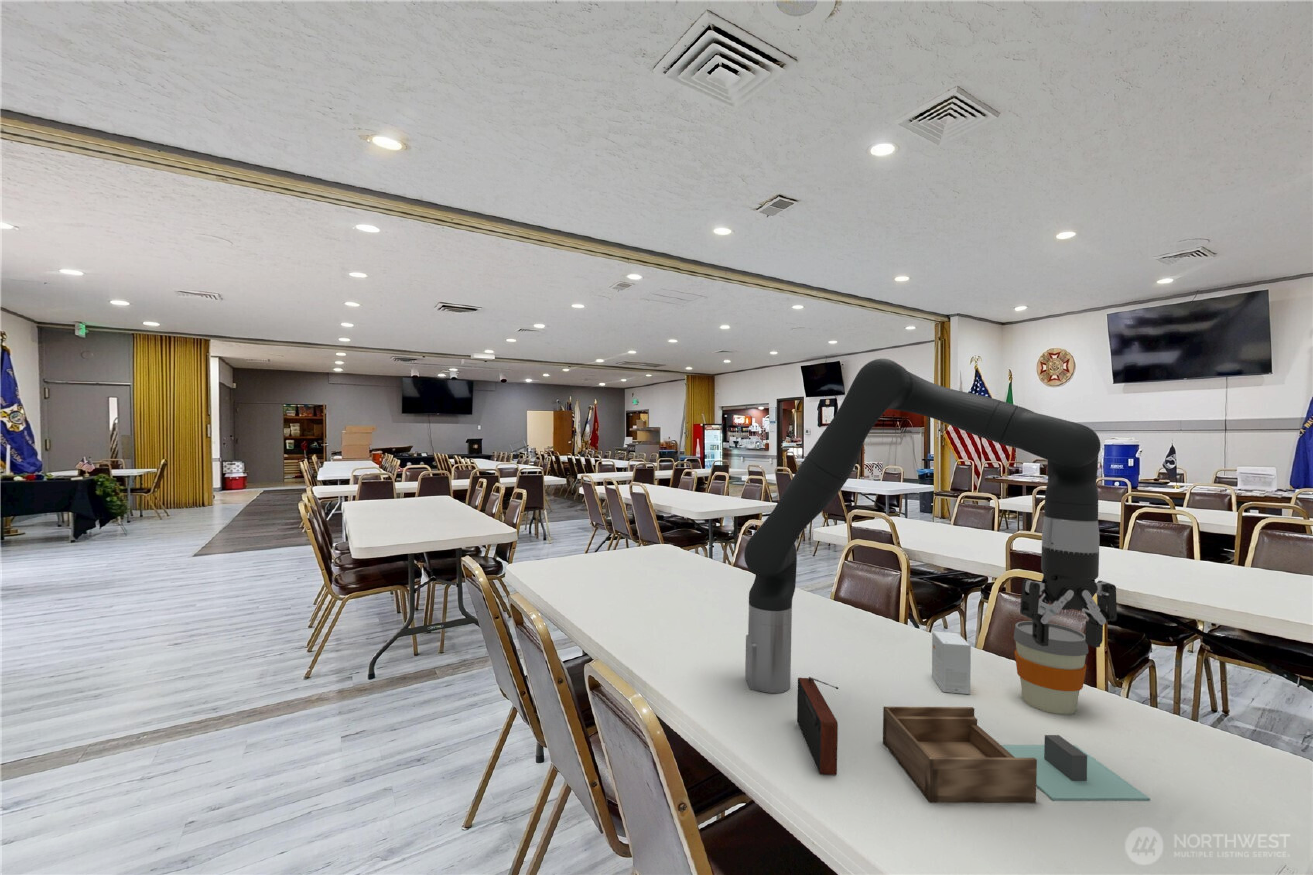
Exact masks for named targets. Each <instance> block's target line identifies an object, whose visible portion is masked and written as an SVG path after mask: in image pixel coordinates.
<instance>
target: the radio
mask: <svg viewBox="0 0 1313 875" xmlns="http://www.w3.org/2000/svg"><path fill="white" fill-rule="evenodd" d="M816 682H818V683H821V684H824V685H827V686H829V687H832V688H834V689H836V690H839V687H838V686H834V685H831V684H829V683H827V682H825V681H821V680H819V679H817V678H814V677H811V676H808V677H797V699H796V700H797V705H796V706H797V707H796V708H797V709H796V722H797V725H798V728H799V730H800V732H801V734H802V736H803V738H804V741H805V744H806V746H807V748H808V751H809V753H810V756H811V757H812V759H813V762H814V764H815V767H816V770H817V771H818V774H819V775H829V776H830V775H831V776H836V775H838V735H839V732H838V730H839V729H838V727H839V726H838V723H839V722H838V720H837V719H836V717H835V715H834V712H832V710H831V707H830V706H829V705H828V703H827V700H826V699H825V697H824V696H823V694H822V692H821V690H820V689H819V687H818V686H817V684H816Z"/></svg>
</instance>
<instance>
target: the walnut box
mask: <svg viewBox="0 0 1313 875" xmlns="http://www.w3.org/2000/svg"><path fill="white" fill-rule="evenodd" d="M882 713H883V714H882V717H883V718H882V744H883V746H884V747H885V748H886V749H887V750H888V752H889V753H890V754H891V756H893V758H894V759H895V760H896V761H897V763H898V764H899V766H900V767H901V768H902V770H904V772H905V773H906V775H907V776H908V777H909V779H911V781H912V782H913V783H914V785H916V787H917V788H918V790H919V791H920V792H921V793H922V794H923V796H924V797H925V799H926V800H927V801H928V803H935V804H936V803H938V804H939V803H941V804H943V803H945V804H946V803H949V804H951V803H952V804H953V803H955V804H956V803H964V804H965V803H974V804H976V803H977V804H979V803H981V804H983V803H984V804H985V803H988V804H989V803H990V804H993V803H994V804H996V803H999V804H1003V803H1004V804H1013V803H1015V804H1016V803H1018V804H1021V803H1022V804H1028V803H1029V804H1036V803H1037V787H1036V779H1037V759H1035V758H1015V757H1014V756H1013V755H1012V754H1011V753H1009V752H1008V751H1007V750H1006V749H1005V748H1004V747H1002V746H1001V745H1002V744H1000V743H999V742H998V741H997V740H995V739H994V737H992V736H991V735H990V734H989V733H988V732H986V731H985V730H984V729H983V728H982V727H981V726H979V725H978V718H977V717H976V716H975V708H974V707H973V706H883V711H882Z"/></svg>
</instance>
